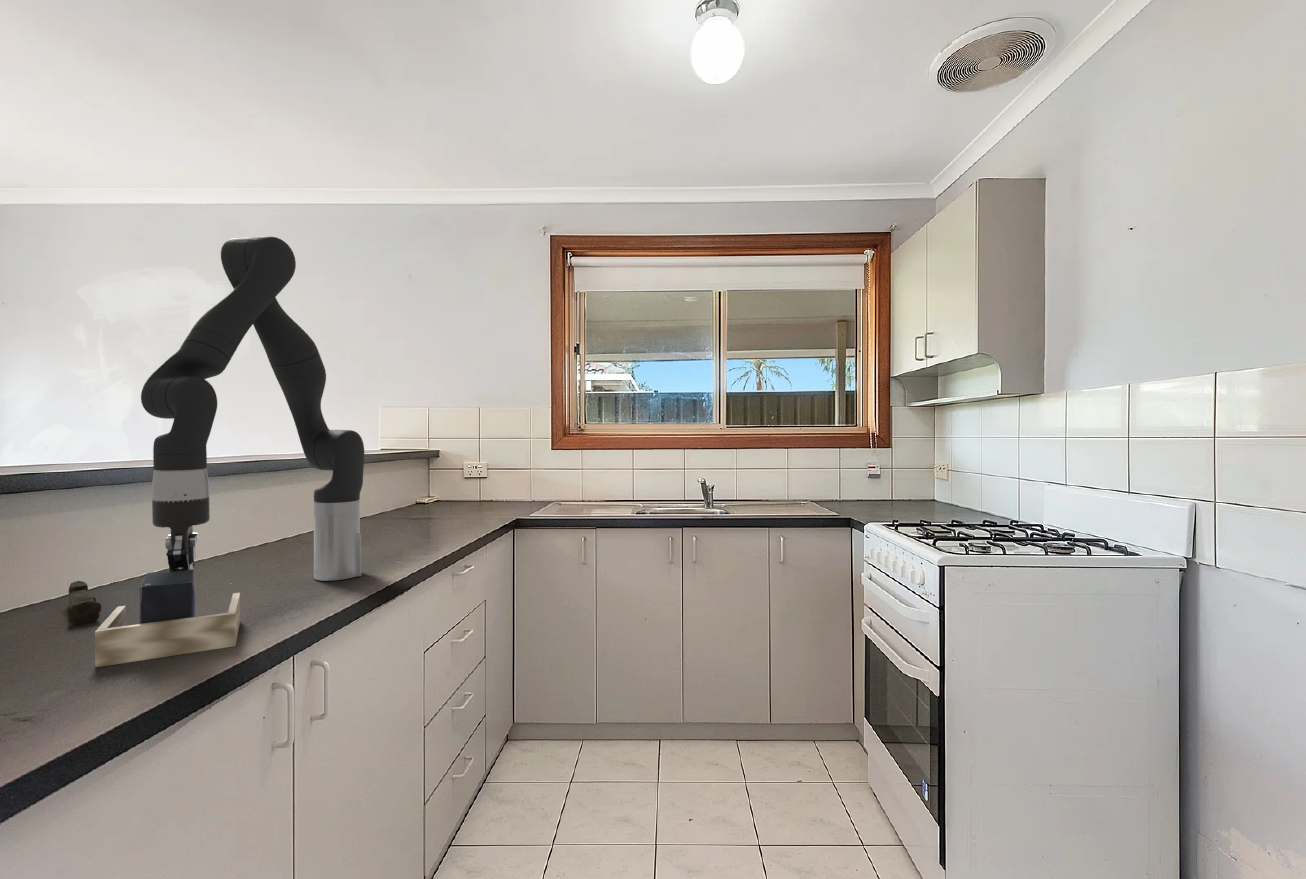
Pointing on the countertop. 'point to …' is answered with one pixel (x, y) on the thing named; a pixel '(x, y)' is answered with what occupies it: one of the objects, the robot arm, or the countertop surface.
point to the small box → (167, 596)
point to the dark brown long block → (82, 604)
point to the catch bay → (164, 636)
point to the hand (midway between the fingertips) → (183, 598)
